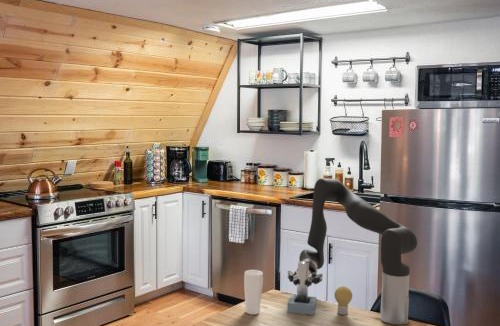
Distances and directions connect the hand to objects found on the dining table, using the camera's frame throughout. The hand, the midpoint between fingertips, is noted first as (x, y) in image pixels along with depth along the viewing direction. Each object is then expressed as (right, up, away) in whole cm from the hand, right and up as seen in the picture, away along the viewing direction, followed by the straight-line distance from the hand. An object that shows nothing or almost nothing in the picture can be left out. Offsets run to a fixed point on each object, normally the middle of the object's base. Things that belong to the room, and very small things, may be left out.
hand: (301, 283), depth 191 cm
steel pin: (0, -9, +4) cm, 9 cm away
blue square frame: (0, -10, +3) cm, 11 cm away
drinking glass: (-18, -11, -1) cm, 21 cm away
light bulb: (+15, -11, 0) cm, 19 cm away
